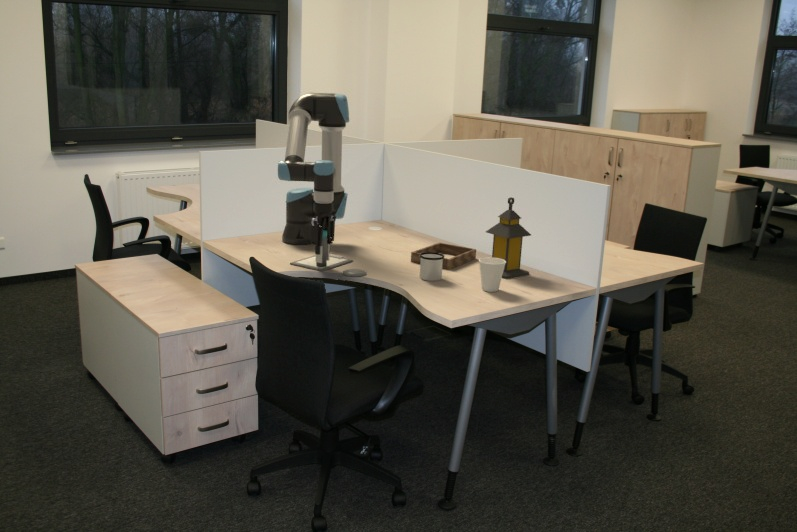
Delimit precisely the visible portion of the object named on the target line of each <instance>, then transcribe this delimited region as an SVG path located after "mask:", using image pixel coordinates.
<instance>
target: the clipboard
mask: <svg viewBox="0 0 797 532" xmlns="http://www.w3.org/2000/svg"><path fill="white" fill-rule="evenodd" d="M352 261H353V262H354V260H353V259H349V258H345V257H344V256H343V255H340V254H339V255H338V254H333V253H330V256H329V261H327V266H326V267H317V266H316V254H315V255H312V256H309V257H305V258H302V259H299V260H294V261H291V262H290V263H289V265H291V266H292V265H293V266H295V267H301V268H305V269H309V270H312V271H313V270H314V271H318V272H325V271H328V270H331V269H333V268H334V269H335V268H337V267H340V266H343V265H346V264H349V263H352Z"/></svg>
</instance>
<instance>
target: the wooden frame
mask: <svg viewBox="0 0 797 532" xmlns="http://www.w3.org/2000/svg"><path fill="white" fill-rule="evenodd" d="M424 252H435V253H440V254H447V255H452V256H453V257H451V258H447V257H446V258H445V257H444V259H443V264H442V269H444V270H451V269H454V268H457V267H459V266H461V265H463V264H466V263H468V262H470V261H473V260H475V259H476V258H477V257H476V256H477V249H476V248H471V247H465V246H460V245H456V244H449V243H444V242H437V243H433V244H432V245H429V246H425V247H422V248H420V249H416V250H414V251H411V253H410V262H411V263H416V264H420V263H421V258H420V256H419V255H420V254H421V253H424Z"/></svg>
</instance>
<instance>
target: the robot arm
mask: <svg viewBox="0 0 797 532" xmlns="http://www.w3.org/2000/svg"><path fill="white" fill-rule="evenodd" d="M287 120H288V122H289V127H288V131H287V133H288V134H287V141H286V148H285V155H284V160H280V161H278V164H277V178H278V179H279V180H280V181H286V182H311V183H313V188H311V187H299V188H293V189H291V190H288V191H287V192H286V196H285V197H286V201H285V204H286V205H285V206H286V207H285V208H286V209H285V210H286V211H285V214H286V215H285V226H284V229H283V233H282V235H281V240H282V242H283V243H286V244H290V245H310V244H311V246H314V254H315V255H316V262H319V263H322V247H323V246H321V242H322V235H323V230H327V261H329V256H330V254H331V252H330V251H331V245H333V242H334V241H335V227H336V220H341V219H343V218H344V217H345V213H346V207H347V200H348V192H345V187H343V186H342V163H343V162H342V153H343V152H342V151H343V150H342V149H343V147H342V146H343V130H344V129H345V128H346V125H347V123H349V122H350V111H349V102H348V97H347V96H346V94H341V93H336V92H335V93H334V92H333V93H332V92H331V93H327V92H324V93H323V92H308V93H304V94H303V95H301V96H299V97H298V98H297V99H296V100H294V101H293V103H292V105H291V106H290V108H289V111H288V115H287ZM312 121H313V122H318V127H319V128H320V130H321V160H320V159H318V160H316V161H313V162H311V161H305V155H306V147H307V140H308V139H307V137H308V130H309V129H308V128H309V125H310V124H311V122H312Z"/></svg>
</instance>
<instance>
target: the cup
mask: <svg viewBox="0 0 797 532" xmlns="http://www.w3.org/2000/svg"><path fill="white" fill-rule="evenodd" d="M505 263H506V261H505V260H503V259H500V258H493V257H492V256H491V257H489V256H488V257H487V256H486V257H485V256H484V257H480V258H478V265H479V271H480V286H481V290H482V291H484V292H487V293H495V292H498V291H499V289H500V286H501V281H502V279H503V278H502V274H503V271H504V267H505Z"/></svg>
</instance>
